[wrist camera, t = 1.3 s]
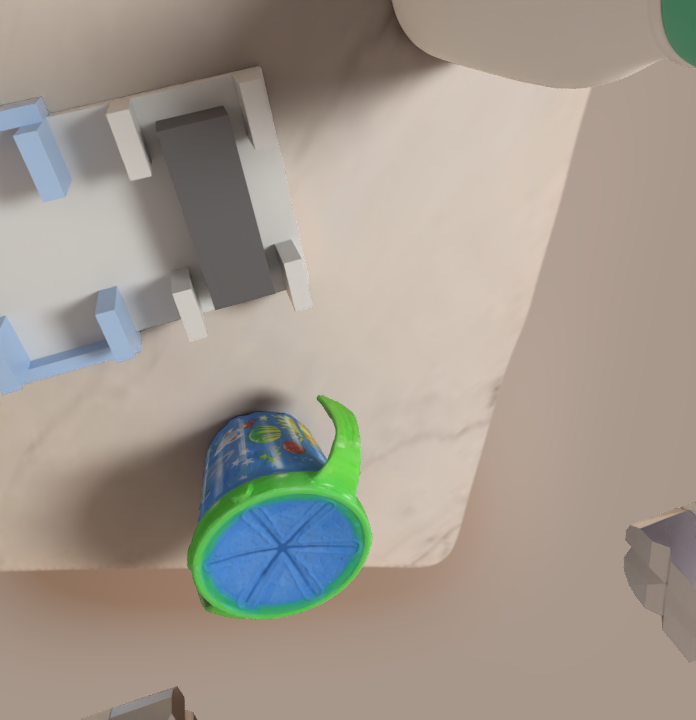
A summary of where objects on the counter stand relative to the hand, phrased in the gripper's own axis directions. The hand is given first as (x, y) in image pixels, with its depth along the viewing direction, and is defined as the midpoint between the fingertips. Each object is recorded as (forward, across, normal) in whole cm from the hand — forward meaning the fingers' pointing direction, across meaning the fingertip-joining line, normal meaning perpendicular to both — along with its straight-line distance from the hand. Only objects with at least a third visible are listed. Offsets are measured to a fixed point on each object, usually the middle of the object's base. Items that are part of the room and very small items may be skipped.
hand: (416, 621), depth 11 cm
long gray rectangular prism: (+27, +1, 0) cm, 27 cm away
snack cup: (+29, +4, +18) cm, 34 cm away
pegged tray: (+28, +6, 0) cm, 29 cm away
